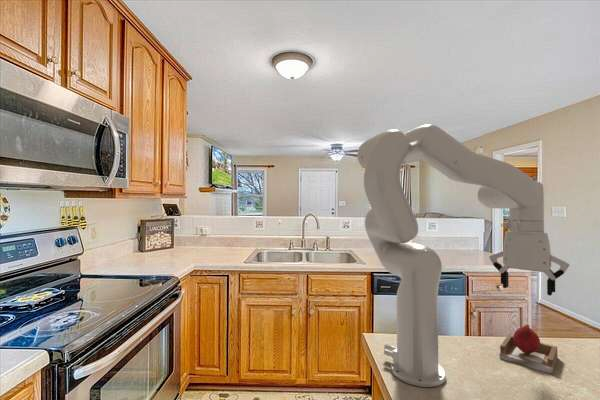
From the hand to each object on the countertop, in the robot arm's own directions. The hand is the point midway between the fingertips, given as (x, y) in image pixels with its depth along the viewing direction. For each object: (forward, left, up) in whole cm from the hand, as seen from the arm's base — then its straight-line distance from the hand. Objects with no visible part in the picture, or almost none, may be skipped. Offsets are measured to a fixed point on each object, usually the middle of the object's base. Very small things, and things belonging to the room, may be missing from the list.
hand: (526, 290), depth 82 cm
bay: (0, 0, -18) cm, 18 cm away
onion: (0, 0, -17) cm, 17 cm away
